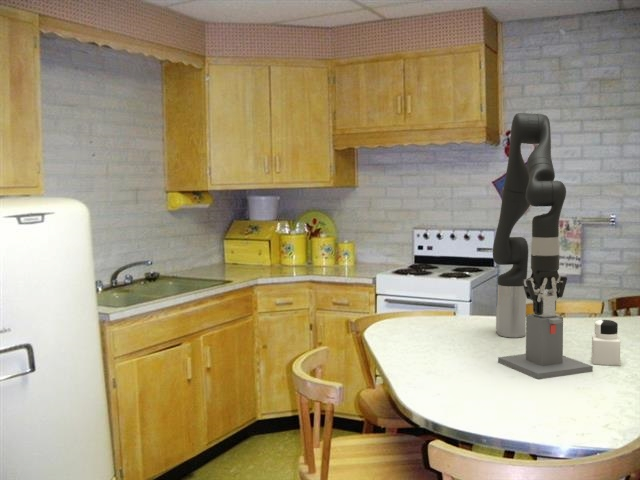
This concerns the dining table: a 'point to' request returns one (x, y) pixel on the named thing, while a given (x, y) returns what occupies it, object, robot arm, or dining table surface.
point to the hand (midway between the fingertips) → (544, 313)
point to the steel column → (547, 306)
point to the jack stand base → (544, 351)
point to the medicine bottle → (606, 343)
